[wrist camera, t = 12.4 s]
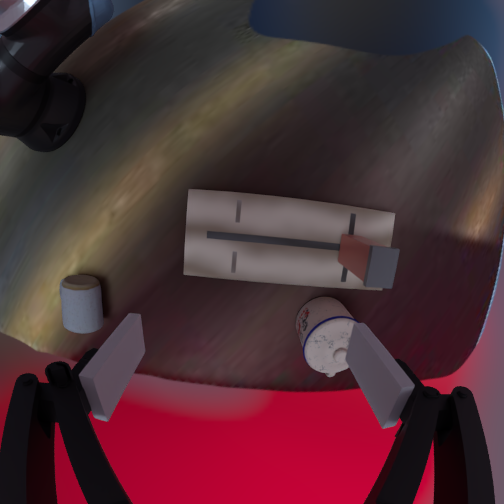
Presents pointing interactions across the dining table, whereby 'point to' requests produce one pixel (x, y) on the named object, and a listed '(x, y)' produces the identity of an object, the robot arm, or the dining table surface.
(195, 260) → the panel
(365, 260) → the fader tab
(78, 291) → the ceramic mug
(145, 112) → the dining table surface
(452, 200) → the dining table surface
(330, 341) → the teacup with lid
